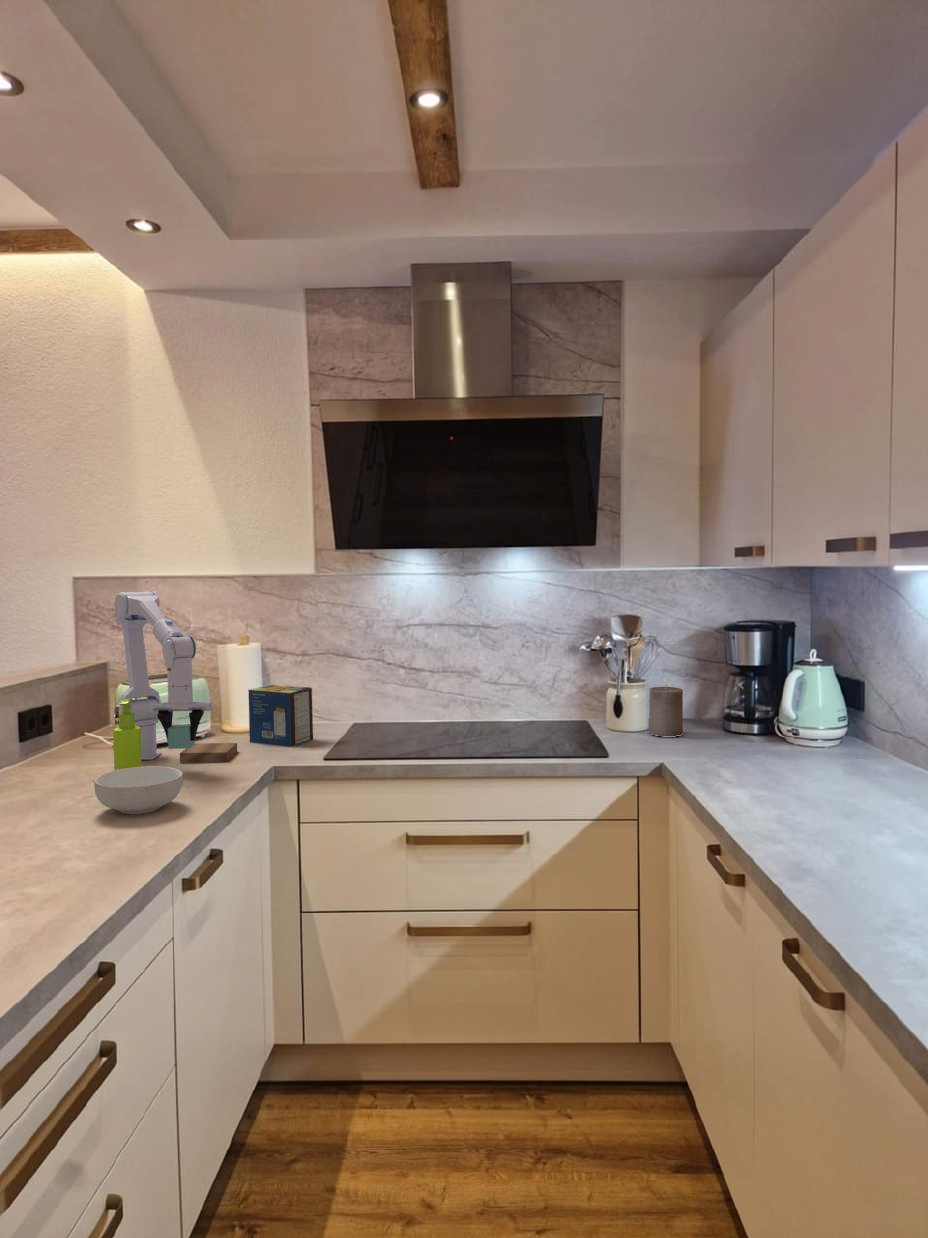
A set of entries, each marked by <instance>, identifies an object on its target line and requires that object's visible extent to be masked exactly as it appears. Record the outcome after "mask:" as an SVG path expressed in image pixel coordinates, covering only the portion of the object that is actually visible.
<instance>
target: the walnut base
mask: <svg viewBox="0 0 928 1238" xmlns="http://www.w3.org/2000/svg"><path fill="white" fill-rule="evenodd" d="M237 753H238V742H212V743H211V742H206V743H205V742H203V743H202V742H201V743H200V742H199V743H195V744H194V745H193V746H192V747H191V748H186V749H182V751H181V752H180V753H179V764H199V763H228V762H229V761H230V760H231V759H232V757H234V756H235V755H236V754H237Z"/></svg>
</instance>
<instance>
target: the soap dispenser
mask: <svg viewBox="0 0 928 1238" xmlns="http://www.w3.org/2000/svg"><path fill="white" fill-rule="evenodd" d="M131 700H132V699H131V698H128V699H121V700H120V703H119V705H122V712H121V713H119V712H118V726H117V727H115V728H113V730H112V731H113V732H112V736H113V741H112V742H113V763H114V766H113V767H114V768H113V769H114V770H113V771H115V770H120V769H125V768H133V767H143V761H142V753H141V727H139V726H135V715H134V712H132V711H130V701H131Z"/></svg>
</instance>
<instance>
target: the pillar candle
mask: <svg viewBox="0 0 928 1238" xmlns="http://www.w3.org/2000/svg"><path fill="white" fill-rule="evenodd" d="M648 690H649V702H648V706H649V707H648V708H649V711H648V713H649V714H648V715H649V716H648V719H649V720H648V721H649V722H648V724H649V725H648V727H649V728H648V734H649V733H650V734H652V735H658V736H676V735H681V734H683V733H684V732H683V729H684V728H683V726H684V725H683V724H684V722H683V721H684V719H683V717H684V714H683V713H684V709H683V706H684V705H683V704H684V699H683V697H684V696H683V695H684V694H683V693H684V691H683V689H682V688H680V687H674V686H673V687H672V686H668V684H666V686H654V687H650V688H649V689H648ZM650 734H649V735H650ZM652 735H651V736H652Z"/></svg>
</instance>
